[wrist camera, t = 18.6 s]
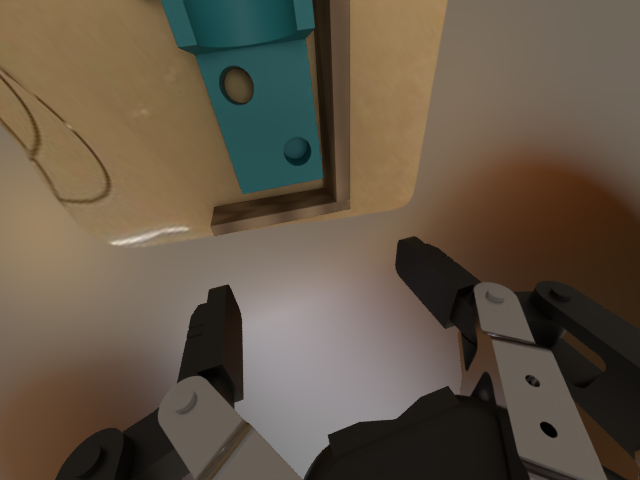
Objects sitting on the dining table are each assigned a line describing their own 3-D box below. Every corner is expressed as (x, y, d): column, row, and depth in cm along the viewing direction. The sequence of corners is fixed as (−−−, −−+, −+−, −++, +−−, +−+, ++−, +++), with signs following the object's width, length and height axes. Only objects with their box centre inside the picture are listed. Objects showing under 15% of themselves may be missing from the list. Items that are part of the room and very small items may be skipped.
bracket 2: (217, 216, 36) (214, 236, 31) (133, -24, 22) (103, -56, 17) (336, 194, 39) (350, 208, 34) (328, -22, 26) (349, -49, 21)
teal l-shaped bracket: (192, 16, 25) (153, -21, 16) (293, 3, 26) (307, -38, 17) (245, 181, 35) (239, 212, 26) (316, 167, 36) (333, 193, 27)
